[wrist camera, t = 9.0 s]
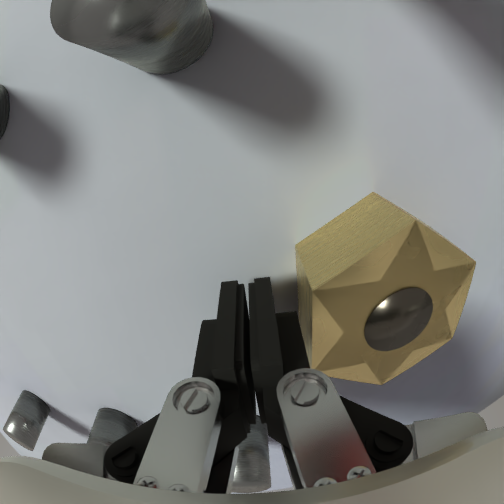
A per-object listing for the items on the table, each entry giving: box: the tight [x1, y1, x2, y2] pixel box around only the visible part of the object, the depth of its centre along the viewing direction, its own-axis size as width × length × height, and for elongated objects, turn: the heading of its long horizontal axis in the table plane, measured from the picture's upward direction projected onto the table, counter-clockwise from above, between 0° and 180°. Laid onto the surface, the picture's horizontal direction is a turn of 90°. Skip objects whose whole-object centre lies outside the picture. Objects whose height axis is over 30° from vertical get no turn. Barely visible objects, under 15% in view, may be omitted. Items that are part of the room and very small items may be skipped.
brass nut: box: [295, 192, 476, 385], centre depth 9 cm, size 7×6×3 cm
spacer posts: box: [0, 0, 271, 493], centre depth 9 cm, size 21×23×4 cm
